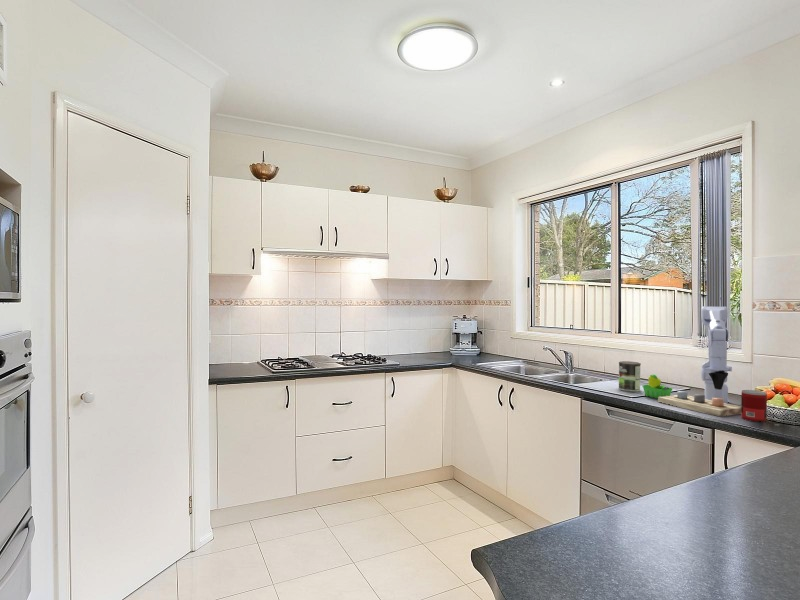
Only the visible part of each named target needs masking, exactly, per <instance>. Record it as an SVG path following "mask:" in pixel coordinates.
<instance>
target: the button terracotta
mask: <svg viewBox="0 0 800 600" xmlns="http://www.w3.org/2000/svg"><path fill="white" fill-rule="evenodd" d="M712 406H715V407H720V408H721V407H724V399H722V398H712Z"/></svg>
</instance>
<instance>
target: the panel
mask: <svg viewBox="0 0 800 600" xmlns="http://www.w3.org/2000/svg"><path fill="white" fill-rule="evenodd" d="M659 402H662V403H661V404H663V403H666V404H665V405H668V404H670V405H669V406H672V405H673V406H672V407H676V406H677V408H681V409H686V410H689V411H693V412H694V411H695V412H699V413H704V414H708V415H711V416H716V417H727V416H733V414H734V415H740V413H741V406H740V405H737V404H731V403H724V407H721V408H720V407H715V406H712V400H707V399H705V403H702V404H701V403H696V402H694V396H692V395H688V399H686V400H682V399H678V398H677V394H674V395H670V396H663V397H658V399H657V403H659ZM726 415H727V416H726Z"/></svg>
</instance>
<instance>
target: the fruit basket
mask: <svg viewBox="0 0 800 600" xmlns="http://www.w3.org/2000/svg"><path fill="white" fill-rule="evenodd" d="M661 384H662V380H661V379H660V378H659V377H658V376H657V375H656V374H654V373H653V374H651V375H649V376H648V383H647V384H642V388H643V392H644V395H646V396H645V397H648V396H650V398H653V397H655V398H654V399H657V398H658V397H663V396H671V394H672V391H673V390H674V389H673V388H672V387H668V386H665V385H664V384H662V385H661Z"/></svg>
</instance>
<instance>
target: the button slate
mask: <svg viewBox="0 0 800 600" xmlns="http://www.w3.org/2000/svg"><path fill="white" fill-rule="evenodd" d="M688 394H689V392H688V391H685V390H677V393H676V395H677V398H678V399H682V400H686V399H688V396H689V395H688Z"/></svg>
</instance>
